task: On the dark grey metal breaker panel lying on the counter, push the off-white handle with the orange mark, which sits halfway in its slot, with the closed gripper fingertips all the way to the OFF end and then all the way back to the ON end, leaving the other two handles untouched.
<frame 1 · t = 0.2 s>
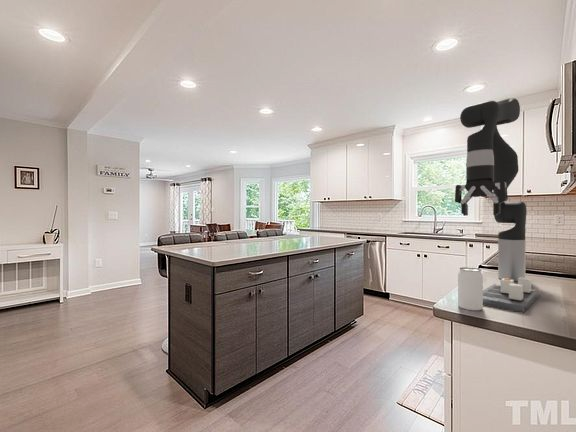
hand: (480, 215, 94), 28 cm above the counter, tool pointing down, fingers open, 8 cm apart
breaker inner: (524, 284, 98), point 5 cm above the counter, slide at 7.0 cm
panel: (507, 299, 97), on the counter
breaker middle: (507, 285, 97), point 5 cm above the counter, slide at 3.5 cm
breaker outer: (516, 291, 90), point 5 cm above the counter, slide at 7.0 cm
can: (470, 308, 89), on the counter
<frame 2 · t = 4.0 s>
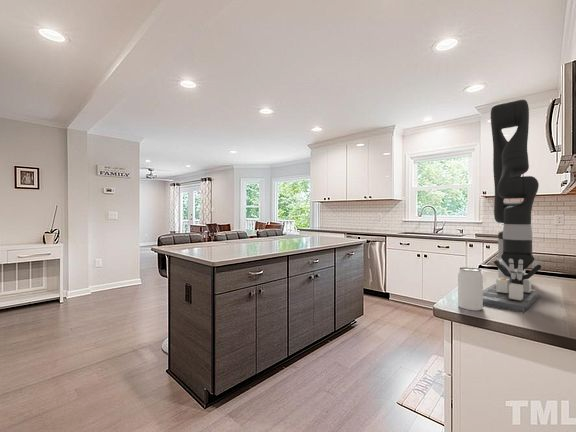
hand: (517, 290, 95), 3 cm above the counter, tool pointing down, fingers closed
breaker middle: (502, 284, 98), point 5 cm above the counter, slide at 2.3 cm, touching gripper
everything else where it was.
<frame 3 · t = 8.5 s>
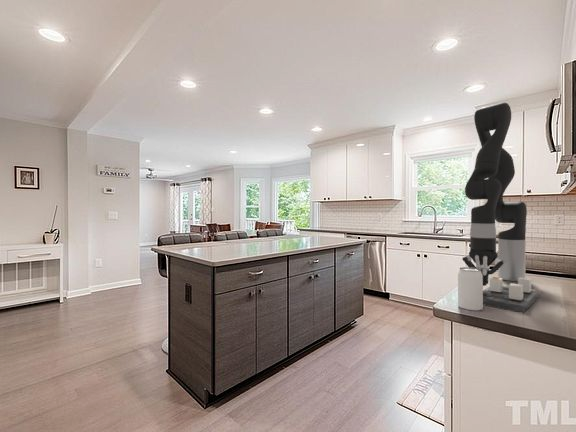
hand: (482, 285, 102), 4 cm above the counter, tool pointing down, fingers closed
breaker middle: (496, 283, 99), point 5 cm above the counter, slide at 0.4 cm, touching gripper
everything else where it was.
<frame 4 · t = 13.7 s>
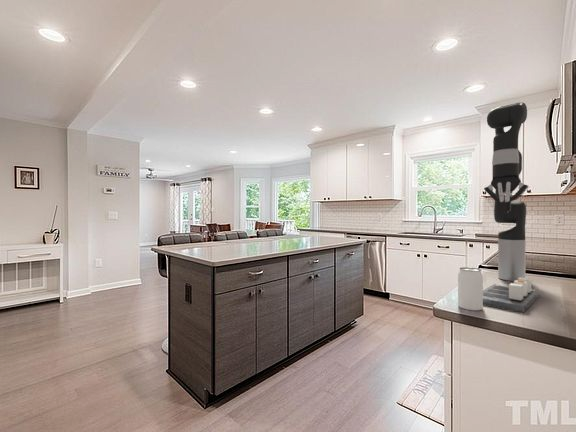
hand: (505, 212, 103), 29 cm above the counter, tool pointing down, fingers closed
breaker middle: (520, 287, 94), point 5 cm above the counter, slide at 7.1 cm
everything else where it was.
at the end: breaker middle slide at 7.1 cm; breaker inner slide at 7.0 cm; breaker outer slide at 7.0 cm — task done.
